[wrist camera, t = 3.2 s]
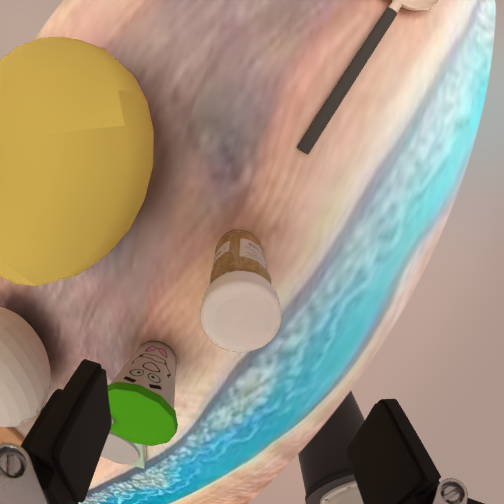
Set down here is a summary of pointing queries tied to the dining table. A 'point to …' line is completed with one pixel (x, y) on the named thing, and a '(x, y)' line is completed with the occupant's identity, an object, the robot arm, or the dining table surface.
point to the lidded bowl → (16, 432)
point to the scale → (124, 451)
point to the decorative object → (21, 371)
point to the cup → (145, 396)
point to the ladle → (358, 68)
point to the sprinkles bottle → (240, 296)
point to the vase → (68, 158)
